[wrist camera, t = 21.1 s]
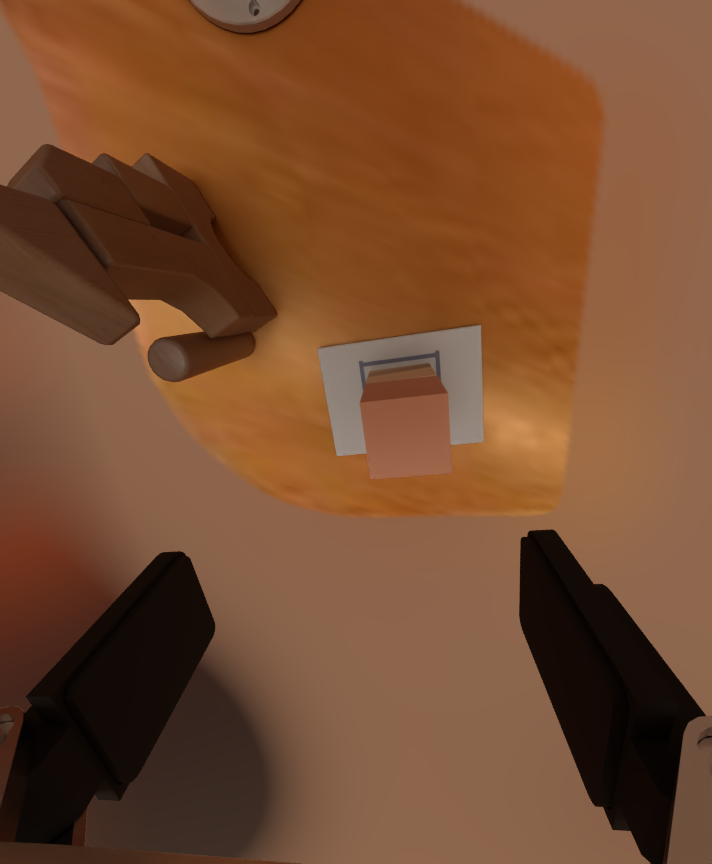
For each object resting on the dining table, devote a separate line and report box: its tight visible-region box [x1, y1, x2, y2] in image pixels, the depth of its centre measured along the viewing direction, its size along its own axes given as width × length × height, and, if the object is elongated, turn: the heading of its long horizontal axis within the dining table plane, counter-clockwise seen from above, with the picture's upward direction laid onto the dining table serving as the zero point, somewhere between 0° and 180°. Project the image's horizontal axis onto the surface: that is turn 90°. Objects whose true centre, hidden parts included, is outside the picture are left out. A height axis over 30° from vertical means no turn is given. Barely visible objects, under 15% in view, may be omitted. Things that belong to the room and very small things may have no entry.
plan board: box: [317, 325, 484, 456], centre depth 36 cm, size 12×16×1 cm
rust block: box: [360, 376, 452, 479], centre depth 27 cm, size 6×6×6 cm
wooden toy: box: [0, 144, 277, 382], centre depth 22 cm, size 16×7×25 cm, turn 32°
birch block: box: [365, 363, 437, 385], centre depth 32 cm, size 6×6×6 cm
